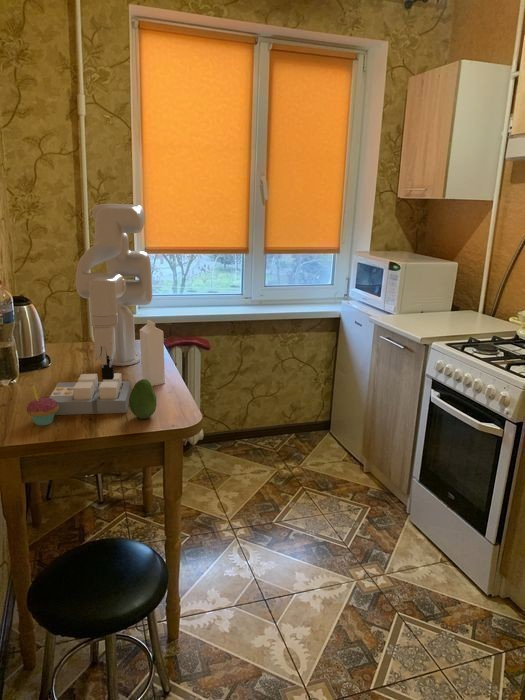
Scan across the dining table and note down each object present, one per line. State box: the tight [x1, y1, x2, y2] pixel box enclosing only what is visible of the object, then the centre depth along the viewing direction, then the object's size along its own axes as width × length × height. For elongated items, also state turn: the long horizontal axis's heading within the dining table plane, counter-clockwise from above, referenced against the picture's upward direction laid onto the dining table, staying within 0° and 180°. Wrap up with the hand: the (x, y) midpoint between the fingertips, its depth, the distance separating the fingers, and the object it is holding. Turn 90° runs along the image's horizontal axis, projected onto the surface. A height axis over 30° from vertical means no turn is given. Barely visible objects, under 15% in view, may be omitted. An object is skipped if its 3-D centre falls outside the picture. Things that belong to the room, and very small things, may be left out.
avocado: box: [128, 378, 158, 420], centre depth 156 cm, size 8×8×12 cm
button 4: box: [99, 381, 119, 399], centre depth 163 cm, size 5×5×5 cm
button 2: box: [73, 381, 94, 400], centre depth 162 cm, size 5×5×5 cm
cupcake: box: [25, 383, 59, 426], centre depth 151 cm, size 9×8×12 cm
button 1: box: [77, 373, 99, 390], centre depth 169 cm, size 5×5×5 cm
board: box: [48, 380, 133, 416], centre depth 166 cm, size 16×23×4 cm
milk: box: [139, 319, 166, 387], centre depth 182 cm, size 6×6×22 cm
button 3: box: [102, 372, 123, 390], centre depth 170 cm, size 5×5×5 cm
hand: (108, 378), depth 161 cm, fingers closed
